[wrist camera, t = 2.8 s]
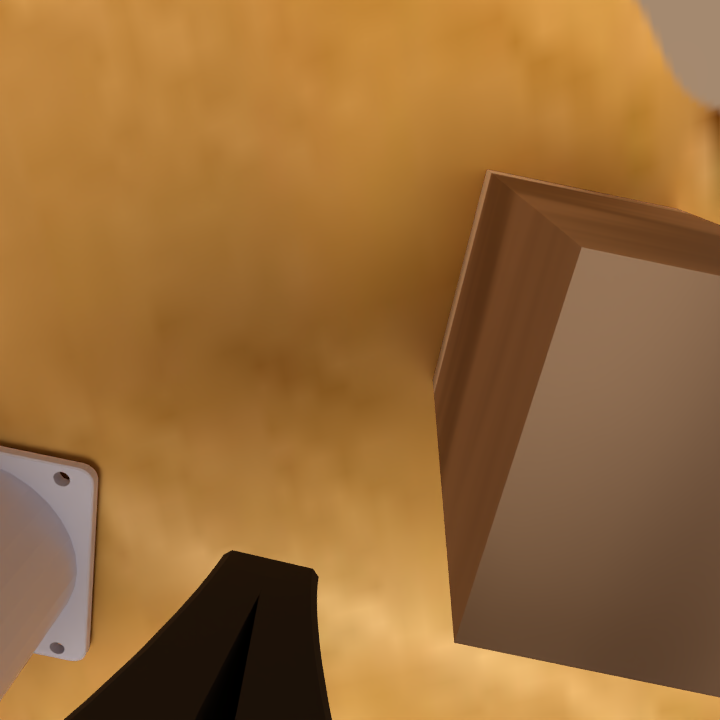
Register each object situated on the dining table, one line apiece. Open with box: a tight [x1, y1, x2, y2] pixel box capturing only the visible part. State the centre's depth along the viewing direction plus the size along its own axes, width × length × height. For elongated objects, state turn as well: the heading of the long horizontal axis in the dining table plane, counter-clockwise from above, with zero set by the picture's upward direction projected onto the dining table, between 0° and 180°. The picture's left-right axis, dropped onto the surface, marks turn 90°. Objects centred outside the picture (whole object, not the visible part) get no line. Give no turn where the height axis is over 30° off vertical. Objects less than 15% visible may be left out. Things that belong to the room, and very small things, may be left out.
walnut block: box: [433, 169, 720, 697], centre depth 13 cm, size 5×6×10 cm
